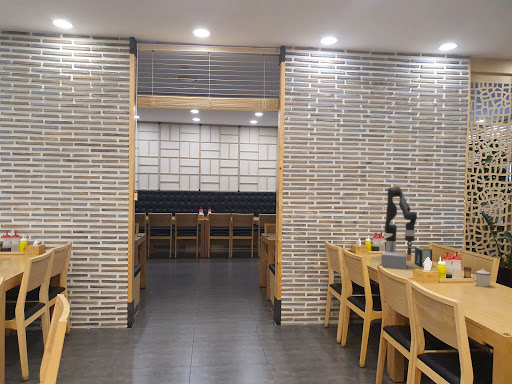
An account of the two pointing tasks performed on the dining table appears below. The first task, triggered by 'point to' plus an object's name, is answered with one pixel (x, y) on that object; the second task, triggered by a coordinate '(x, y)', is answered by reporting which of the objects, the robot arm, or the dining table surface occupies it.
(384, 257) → the carton
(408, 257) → the carton lid
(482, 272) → the teacup with lid
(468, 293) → the dining table surface
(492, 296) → the dining table surface
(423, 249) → the protein box
